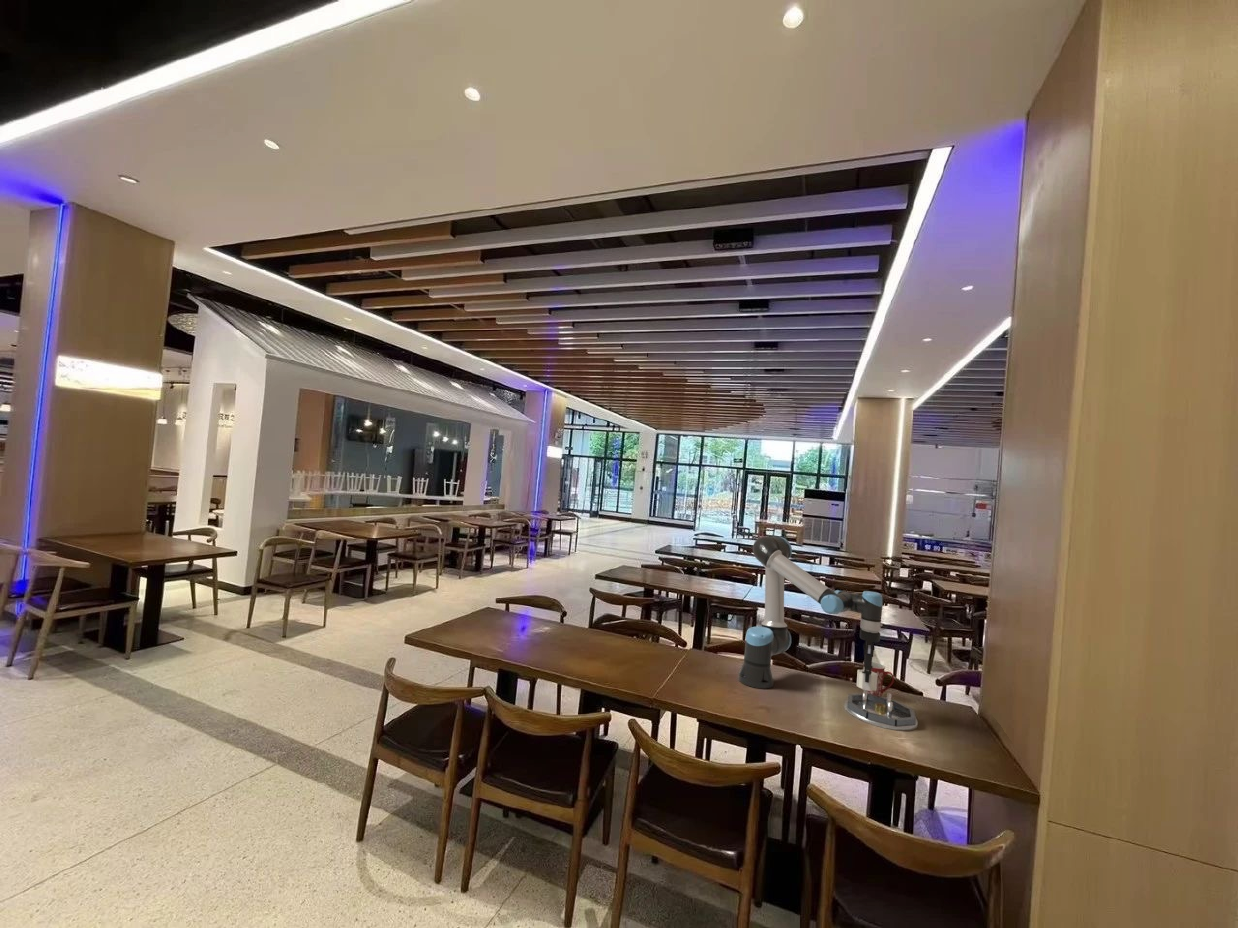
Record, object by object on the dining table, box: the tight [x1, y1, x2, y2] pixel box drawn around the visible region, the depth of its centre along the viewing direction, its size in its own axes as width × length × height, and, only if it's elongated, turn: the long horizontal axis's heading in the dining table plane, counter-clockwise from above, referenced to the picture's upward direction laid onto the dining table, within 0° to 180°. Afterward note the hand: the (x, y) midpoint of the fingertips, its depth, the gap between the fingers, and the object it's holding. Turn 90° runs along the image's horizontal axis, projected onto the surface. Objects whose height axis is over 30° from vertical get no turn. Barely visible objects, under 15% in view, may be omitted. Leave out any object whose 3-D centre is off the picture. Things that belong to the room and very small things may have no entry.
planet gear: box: [856, 668, 878, 691], centre depth 215 cm, size 7×7×6 cm
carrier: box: [844, 690, 919, 732], centre depth 212 cm, size 26×26×8 cm
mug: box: [862, 661, 895, 697], centre depth 232 cm, size 13×9×14 cm
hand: (866, 686), depth 214 cm, fingers closed on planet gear, 7 cm apart
